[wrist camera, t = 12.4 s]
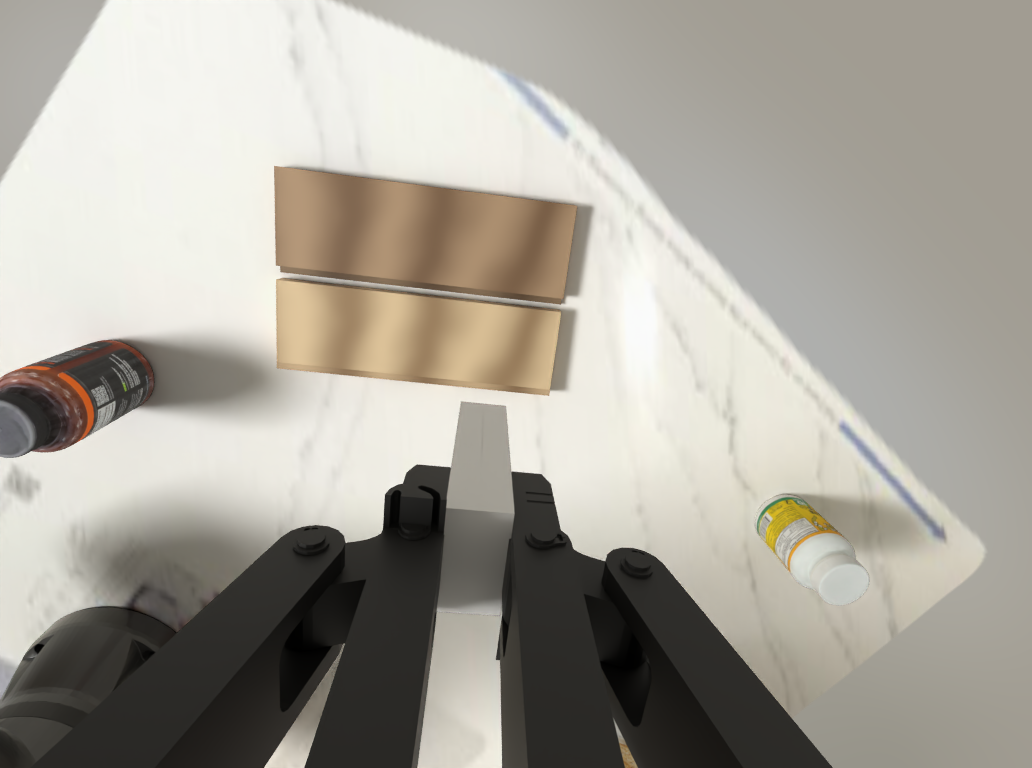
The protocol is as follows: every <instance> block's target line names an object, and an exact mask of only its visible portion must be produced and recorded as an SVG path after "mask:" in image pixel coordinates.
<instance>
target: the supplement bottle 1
mask: <svg viewBox="0 0 1032 768" xmlns="http://www.w3.org/2000/svg"><path fill="white" fill-rule="evenodd" d="M153 387H154V375H153V371H152V369H151V367H150V365H149V363H148V361H147V360H146V359H145V357H144V356H143V355H142V354H141V353H140V352H138V351H137V350H136V349H134V348H132V347H131V346H129V345H127V344H124V343H121V342H118V341H112V340H103V341H97V342H94V343H90V344H87V345H84V346H81V347H78V348H75V349H73V350H70V351H67V352H65V353H62V354H59V355H56V356H54V357H51V358H48V359H45V360H42V361H39V362H37V363H34V364H31V365H28V366H26V367H23V368H20V369H18V370H15V371H12V372H10V373H8V374H6V375H4V376H2V377H1V378H0V457H5V458H14V457H19V456H22V455H25V454H27V453H29V452H30V451H35V452H55V451H59V450H62V449H65V448H67V447H69V446H71V445H73V444H75V443H77V442H78V441H80V440H82V439H84V438H86V437H87V436H89V435H91V434H92V433H94V432H96V431H97V430H99V429H101V428H103V427H104V426H106V425H108V424H109V423H111V422H113V421H115V420H116V419H118V418H120V417H121V416H123V415H125V414H127V413H128V412H130V411H132V410H133V409H135V408H137V407H138V406H140V405H141V404H143V403H144V402H145V401H146V400H147V399H148V398H149V396H150V395H151V393H152V391H153Z"/></svg>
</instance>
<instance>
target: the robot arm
mask: <svg viewBox="0 0 1032 768" xmlns="http://www.w3.org/2000/svg"><path fill="white" fill-rule="evenodd" d="M554 503H555V502H554V497H553V493H552V488H551V484H550V483H549V482H548V481H547V480H546V479H545V478H544V476H543V475H542V474H533V473H522V472H511V463H510V450H509V438H508V425H507V413H506V406H501V405H491V404H480V403H470V402H461V405H460V412H459V418H458V425H457V432H456V438H455V445H454V452H453V458H452V465H451V468H450V467H439V466H428V465H416V466H414V467H413V468H412V469H411V470H409V471H408V472H407V473H406V476H405V479H404V482H403V484H399V485H396V486H395V487H393V488H391V489H389V490H388V492H387V493H386V494H385V504H384V523H383V530H382V533H381V534H379V535H378V536H376V537H373V538H370V539H367V540H362V541H357V542H349V543H345V539H344V536H343V535H342V534H341V533H340V532H339V531H338V530H336V529H333V528H331V527H328V526H318V525H314V526H306V527H301V528H298V529H295V530H292V531H290V532H289V533H287V534H286V535H284V536H283V537H281V538H280V539H279V540H278V541H277V542H276V543H275V544H274V545H273V546H271V547H270V548H269V549H268V550H267V551H266V552H265V553H264V554H263V555H262V556H261V557H259V558H258V559H257V560H256V561H255V562H254V563H253V564H252V565H251V566H250V567H249V568H247V569H246V570H245V571H244V572H243V573H242V574H241V575H240V576H239V577H238V578H237V579H235V580H234V581H233V582H232V583H231V584H230V585H229V586H228V587H227V588H226V589H225V590H223V591H222V592H221V593H220V594H219V595H218V596H217V597H216V598H215V599H214V600H213V601H211V602H210V603H209V604H208V605H207V606H206V607H205V608H204V609H203V610H202V611H201V612H199V613H198V614H197V615H196V616H195V617H194V618H193V619H192V620H191V621H190V622H189V623H187V624H186V625H185V626H184V627H183V628H182V629H181V630H180V631H179V632H178V633H175V632H174V631H173V630H172V629H170V628H169V627H167V626H166V625H164V624H163V623H161V622H159V621H157V620H155V619H153V618H151V617H149V616H146V615H144V614H141V613H138V612H134V611H130V610H126V609H120V608H107V607H103V608H90V609H85V610H80V611H77V612H74V613H71V614H69V615H67V616H65V617H63V618H61V619H59V620H58V621H56V622H55V623H54V624H53V625H52V626H51V627H50V628H49V629H48V630H47V631H45V632H44V633H43V634H42V635H41V636H40V637H39V638H38V639H37V640H36V641H35V642H34V643H33V644H32V646H31V647H30V648H29V649H28V651H27V652H26V654H25V655H24V657H23V659H22V661H21V663H20V664H19V666H18V668H17V670H16V672H15V674H14V675H13V677H12V679H11V681H10V683H9V685H8V686H7V688H6V690H5V692H4V694H3V696H2V697H1V699H0V768H264V767H265V765H266V764H267V762H268V761H269V759H270V758H271V756H272V755H273V753H274V752H275V750H276V749H277V747H278V746H279V744H280V742H281V741H282V739H283V738H284V736H285V735H286V733H287V732H288V730H289V729H290V727H291V726H292V724H293V723H294V721H295V720H296V718H297V717H298V715H299V714H300V712H301V711H302V709H303V708H304V706H305V705H306V703H307V702H308V700H309V699H310V697H311V696H312V694H313V692H314V691H315V689H316V688H317V686H318V685H319V683H320V682H321V680H322V679H323V677H324V676H325V674H326V673H327V671H328V670H329V668H330V667H331V665H332V664H333V662H334V661H335V659H336V658H337V656H338V655H339V653H340V650H341V647H342V645H343V644H344V643H345V646H344V649H343V652H342V655H341V658H340V661H339V664H338V667H337V670H336V673H335V676H334V680H333V683H332V686H331V689H330V692H329V695H328V698H327V701H326V704H325V707H324V710H323V713H322V716H321V719H320V722H319V725H318V728H317V731H316V734H315V737H314V740H313V743H312V746H311V749H310V753H309V756H308V759H307V762H306V765H305V768H417V766H418V758H419V750H420V742H421V734H422V726H423V718H424V711H425V703H426V695H427V687H428V679H429V671H430V663H431V656H432V648H433V640H434V632H435V622H436V612H449V613H464V614H479V615H494V616H500V615H501V608H502V620H501V627H500V634H499V641H498V649H497V656H496V660H500V673H501V726H502V768H625V765H624V761H623V757H622V753H621V749H620V744H619V740H618V736H617V732H616V728H615V723H614V720H615V722H616V724H617V726H618V728H619V730H620V732H621V734H622V736H623V739H624V741H625V743H626V745H627V747H628V749H629V751H630V753H631V755H632V757H633V759H634V761H635V763H636V765H637V767H638V768H832V766H831V765H830V764H829V763H828V762H827V760H826V759H825V758H824V757H823V756H822V755H821V753H820V752H819V751H818V750H817V748H816V747H815V746H814V745H813V743H812V742H811V741H810V740H809V739H808V737H807V736H806V735H805V734H804V733H803V732H802V730H801V729H800V728H799V727H798V725H797V724H796V723H795V722H794V721H793V719H792V718H791V717H790V716H789V715H788V713H787V712H786V711H785V710H784V709H783V707H782V706H781V705H780V704H779V703H778V701H777V700H776V699H775V698H774V697H773V695H772V694H771V693H770V692H769V691H768V689H767V688H766V687H765V686H764V685H763V683H762V682H761V681H760V680H759V679H758V677H757V676H756V675H755V674H754V673H753V671H752V670H751V669H750V668H749V667H748V665H747V664H746V663H745V662H744V660H743V659H742V658H741V657H740V656H739V654H738V653H737V652H736V651H735V650H734V648H733V647H732V646H731V645H730V644H729V642H728V641H727V640H726V639H725V638H724V636H723V635H722V634H721V633H720V632H719V630H718V629H717V628H716V627H715V626H714V624H713V623H712V622H711V621H710V620H709V618H708V617H707V616H706V615H705V614H704V612H703V611H702V610H701V609H700V608H699V606H698V605H697V604H696V603H695V602H694V600H693V599H692V598H691V597H690V596H689V594H688V593H687V592H686V591H685V590H684V588H683V587H682V586H681V585H680V584H679V582H678V581H677V580H676V579H675V578H674V576H673V575H672V574H671V573H670V571H669V570H668V569H667V568H666V567H665V565H664V564H663V563H662V562H660V561H659V560H658V559H657V558H656V557H654V556H652V555H651V554H649V553H647V552H645V551H642V550H638V549H634V548H619V549H615V550H612V551H611V552H610V553H609V554H607V558H606V562H605V561H602V560H598V559H595V558H591V557H588V556H586V555H583V554H581V553H579V552H577V551H575V550H574V549H573V547H572V543H571V541H570V539H569V537H568V536H567V535H566V534H565V533H564V532H562V531H561V529H560V525H559V520H558V516H557V511H556V507H555V504H554ZM613 718H614V719H613Z"/></svg>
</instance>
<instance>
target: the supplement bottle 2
mask: <svg viewBox="0 0 1032 768" xmlns="http://www.w3.org/2000/svg"><path fill="white" fill-rule="evenodd" d="M755 529H756V531H757V533H758V535H759V536H760V537H761V539H762V540H763V541H764V542H765V544H766V545H767V546H768V547H769V548H770V550H771V551H772V552H773V553H774V554H775V556H776V557H777V558H778V559H779V560H780V562H781V563H782V564H783V565H784V566H785V568H786V569H787V570H788V571H789V573H790V574H791V575H792V576H793V577H794V579H795V580H796V581H797V582H798V583H799V584H801V585H802V586H804V587H806V588H809V589H812V590H814V591H815V592H816V593H817V594H818V595H819V596H820V597H821V598H822V599H823V600H824V601H825V602H827V603H829V604H832V605H846V604H849V603H852V602H854V601H856V600H857V599H859V598H860V597H861V596H862V595H863V594H864V593H865V591H866V590H867V588H868V585H869V574H868V572H867V571H866V570H865V568H864V567H863V566H862V565H861V564H860V563H859V562H858V561H857V560H856V555H855V551H854V549H853V547H852V545H851V544H850V543H849V542H848V540H846V539H845V538H844V537H843V536H842V535H841V534H840V533H839V532H838V531H837V530H836V529H835V528H833V527H832V526H831V525H830V524H829V523H828V522H827V521H826V520H825V519H824V518H823V517H822V516H821V515H820V514H818V513H817V512H816V511H815V510H814V509H813V508H812V507H811V506H810V505H809V504H808V503H806V502H805V501H804V500H803V499H801V498H799V497H796V496H793V495H778V496H775V497H773V498H771V499H769V500H768V501H766V502H765V503H764V504H763V505H762V506H761V507H760V508H759V510H758V512H757V514H756V517H755Z"/></svg>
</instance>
